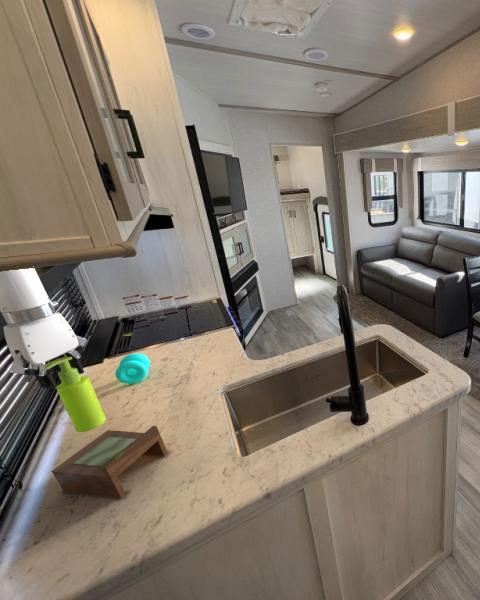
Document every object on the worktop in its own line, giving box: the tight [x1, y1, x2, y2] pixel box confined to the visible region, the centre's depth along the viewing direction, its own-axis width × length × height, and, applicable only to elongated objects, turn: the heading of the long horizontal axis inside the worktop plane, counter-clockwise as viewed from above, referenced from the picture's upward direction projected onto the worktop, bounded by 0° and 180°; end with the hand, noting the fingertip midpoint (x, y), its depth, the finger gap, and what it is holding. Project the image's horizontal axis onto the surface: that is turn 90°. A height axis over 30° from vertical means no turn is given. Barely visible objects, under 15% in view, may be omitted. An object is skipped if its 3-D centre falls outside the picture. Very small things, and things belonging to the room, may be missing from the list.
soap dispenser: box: [46, 356, 107, 433], centre depth 79 cm, size 6×7×20 cm
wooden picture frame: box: [51, 425, 169, 499], centre depth 84 cm, size 18×14×10 cm
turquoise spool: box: [114, 353, 151, 385], centre depth 128 cm, size 10×10×10 cm
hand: (64, 379), depth 77 cm, fingers closed on soap dispenser, 5 cm apart
